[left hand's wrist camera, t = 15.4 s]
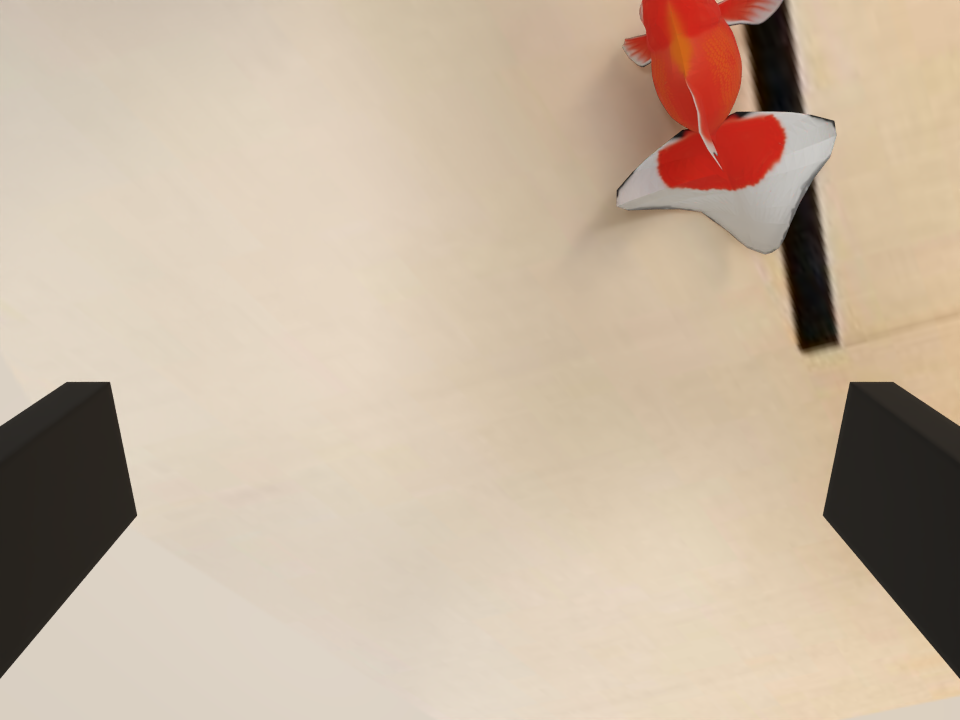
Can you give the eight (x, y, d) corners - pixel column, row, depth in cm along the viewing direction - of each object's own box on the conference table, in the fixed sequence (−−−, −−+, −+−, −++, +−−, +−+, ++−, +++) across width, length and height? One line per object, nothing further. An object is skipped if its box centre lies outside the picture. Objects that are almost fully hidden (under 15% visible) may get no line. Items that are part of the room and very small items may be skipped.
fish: (858, -101, 31) (887, -14, 25) (813, 193, 42) (825, 305, 36) (618, -62, 34) (589, 23, 28) (635, 199, 45) (616, 302, 39)
